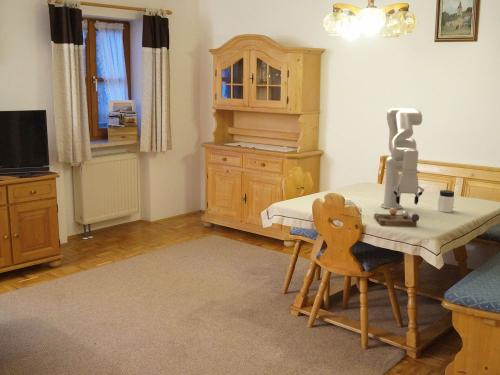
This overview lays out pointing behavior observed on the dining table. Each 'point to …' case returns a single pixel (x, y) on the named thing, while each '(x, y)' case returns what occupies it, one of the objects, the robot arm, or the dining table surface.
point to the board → (394, 220)
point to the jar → (446, 201)
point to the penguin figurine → (352, 203)
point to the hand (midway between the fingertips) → (406, 203)
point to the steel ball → (405, 214)
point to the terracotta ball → (393, 211)
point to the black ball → (415, 217)
